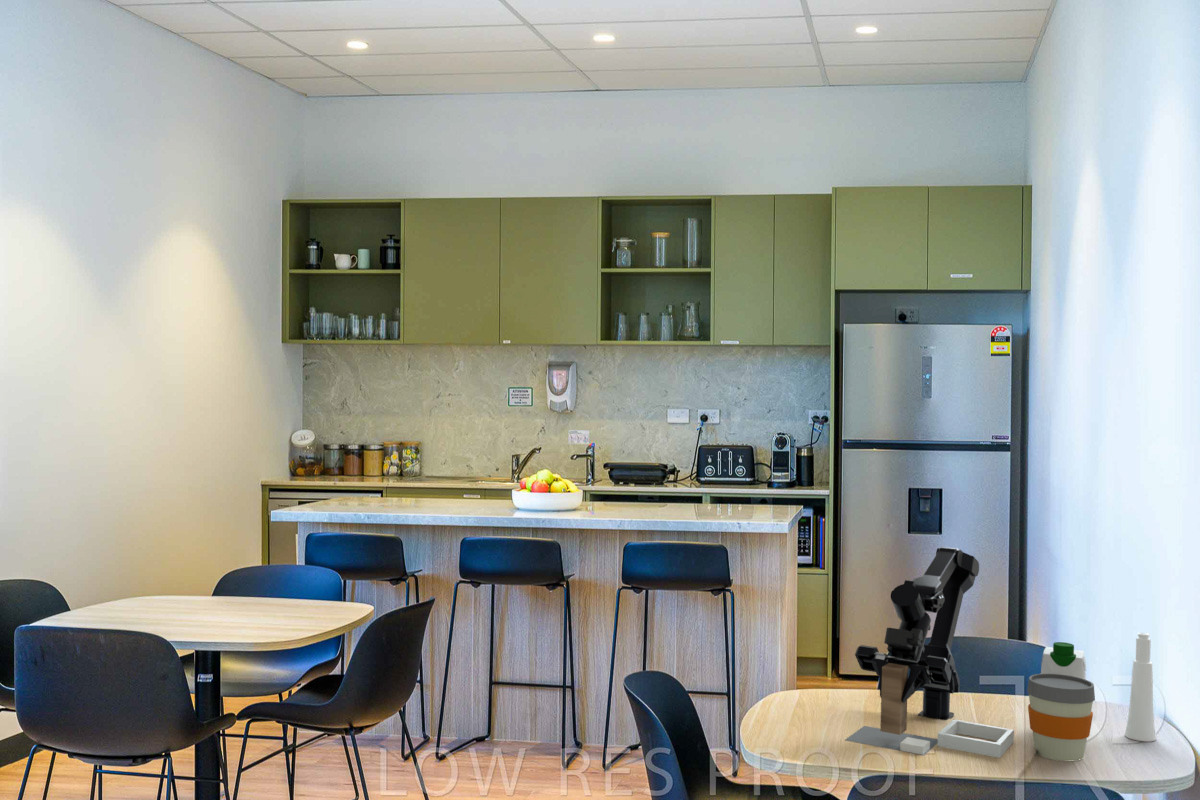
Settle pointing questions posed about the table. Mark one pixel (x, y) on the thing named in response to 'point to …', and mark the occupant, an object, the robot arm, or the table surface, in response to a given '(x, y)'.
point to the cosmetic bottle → (1141, 694)
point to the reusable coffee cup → (1060, 715)
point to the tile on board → (915, 745)
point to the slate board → (885, 738)
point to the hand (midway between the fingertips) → (892, 699)
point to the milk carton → (1063, 660)
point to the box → (994, 749)
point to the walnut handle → (893, 699)
